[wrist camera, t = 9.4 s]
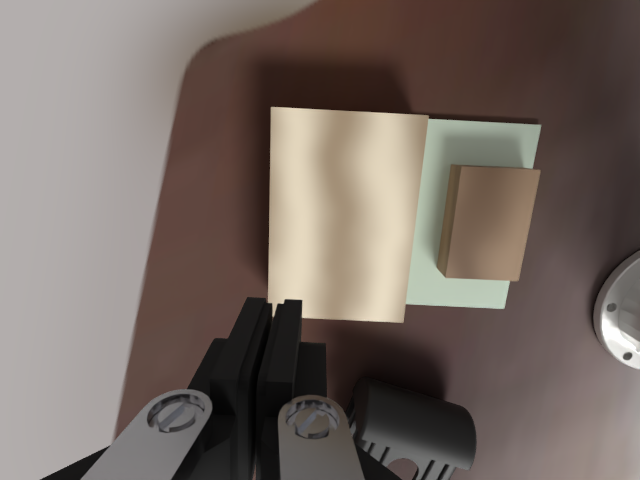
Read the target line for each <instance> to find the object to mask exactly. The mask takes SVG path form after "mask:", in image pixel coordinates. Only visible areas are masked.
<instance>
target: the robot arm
mask: <svg viewBox="0 0 640 480" xmlns="http://www.w3.org/2000/svg"><path fill="white" fill-rule="evenodd" d="M272 314H273V305H272V303H266V298H253V297H247V299H246V301H245V303H244V306H243V308H242V310H241V312H240V314H239V316H238V318H237V321H236V323H235V325H234V327H233V329H232V331H231V333H230V336H229V338H228V339H225V338H215V339H214V340H213V342H212V343H211V345H210V347H209V349H208V351H207V353H206V355H205V356H204V358H203V360H202V362H201V364H200V366H199V368H198V369H197V371H196V373H195V375H194V377H193V379H192V381H191V383H190V384H189V386H188V388H187V389H181V390H175V391H171V392H168V393H165V394H162V395H160V396H158V397H157V398H155V399H153V400H152V401H151V402H149V403H148V404H147V405H146V406H145V407H144V408H143V409H142V410H141V411H140V413H139V414H138V415H137V416H136V417H135V418H134V419H133V421H132V422H131V423H130V424H129V425H128V426H127V427H126V428H125V430H124V431H123V432H122V433H121V434H120V435H119V436H118V438H117V439H116V440H115V441H114V442H113V443H112V444H111V445H110V446H108V447H106V448H104V449H102V450H100V451H98V452H96V453H94V454H92V455H90V456H88V457H86V458H83V459H81V460H79V461H77V462H75V463H73V464H71V465H69V466H67V467H65V468H63V469H61V470H59V471H57V472H55V473H53V474H51V475H49V476H47V477H45V478H43V479H41V480H252V479H253V474H254V469H255V464H256V480H402V479H401V478H399V477H398V476H397V475H395V474H394V473H393V472H392V471H390V470H389V469H388V468H386V467H385V466H384V465H383V464H381V463H380V462H379V461H377V460H376V459H375V458H374V457H372V456H371V455H370V454H368V453H367V452H366V451H365V450H363V449H362V448H361V447H359V446H358V445H357V444H356V443H354V441H353V438H352V434H351V431H350V428H349V424H348V421H347V417H346V415H345V413H344V411H343V409H342V408H341V407H340V406H339V405H338V404H337V403H336V402H334V401H332V400H331V399H329V398H327V384H326V344H325V343H309V342H301V327H302V300H295V299H285V300H284V304H280V303H278V304H277V307H276V311H275V315H274V318H273V322H272ZM593 320H594V329H595V332H596V335H597V338H598V340H599V341H600V343H601V345H602V346H603V348H604V349H605V350H606V351H607V352H609V353H610V354H611V355H612V356H613V357H614V358H616V359H617V360H619V361H620V362H621V363H623V364H625V365H628V366H630V367H632V368H635V369H639V370H640V251H638V252H636V253H635V254H633V255H632V256H630V257H629V258H627V259H626V260H624V261H623V262H622V263H621V264H620V265H619V266H618V267H617V268H616V269H615V270H614V271H613V272H612V273H611V275H610V276H609V277H608V278H607V280H606V281H605V283H604V284H603V286H602V288H601V290H600V292H599V294H598V297H597V300H596V303H595V307H594V315H593Z"/></svg>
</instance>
